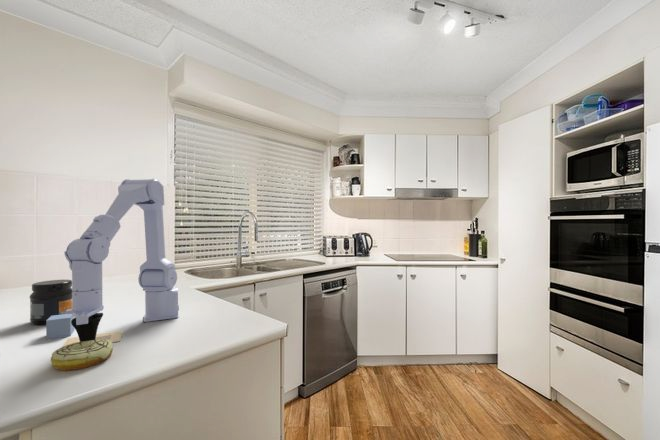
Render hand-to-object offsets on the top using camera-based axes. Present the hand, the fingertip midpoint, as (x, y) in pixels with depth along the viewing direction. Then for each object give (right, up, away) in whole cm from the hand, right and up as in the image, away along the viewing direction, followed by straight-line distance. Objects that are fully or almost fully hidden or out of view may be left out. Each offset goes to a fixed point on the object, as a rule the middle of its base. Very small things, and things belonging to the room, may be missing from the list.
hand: (88, 346), depth 76 cm
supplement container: (-30, -2, +25) cm, 39 cm away
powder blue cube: (-16, -1, +12) cm, 20 cm away
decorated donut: (+3, -1, -5) cm, 6 cm away
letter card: (-4, -1, +7) cm, 8 cm away
